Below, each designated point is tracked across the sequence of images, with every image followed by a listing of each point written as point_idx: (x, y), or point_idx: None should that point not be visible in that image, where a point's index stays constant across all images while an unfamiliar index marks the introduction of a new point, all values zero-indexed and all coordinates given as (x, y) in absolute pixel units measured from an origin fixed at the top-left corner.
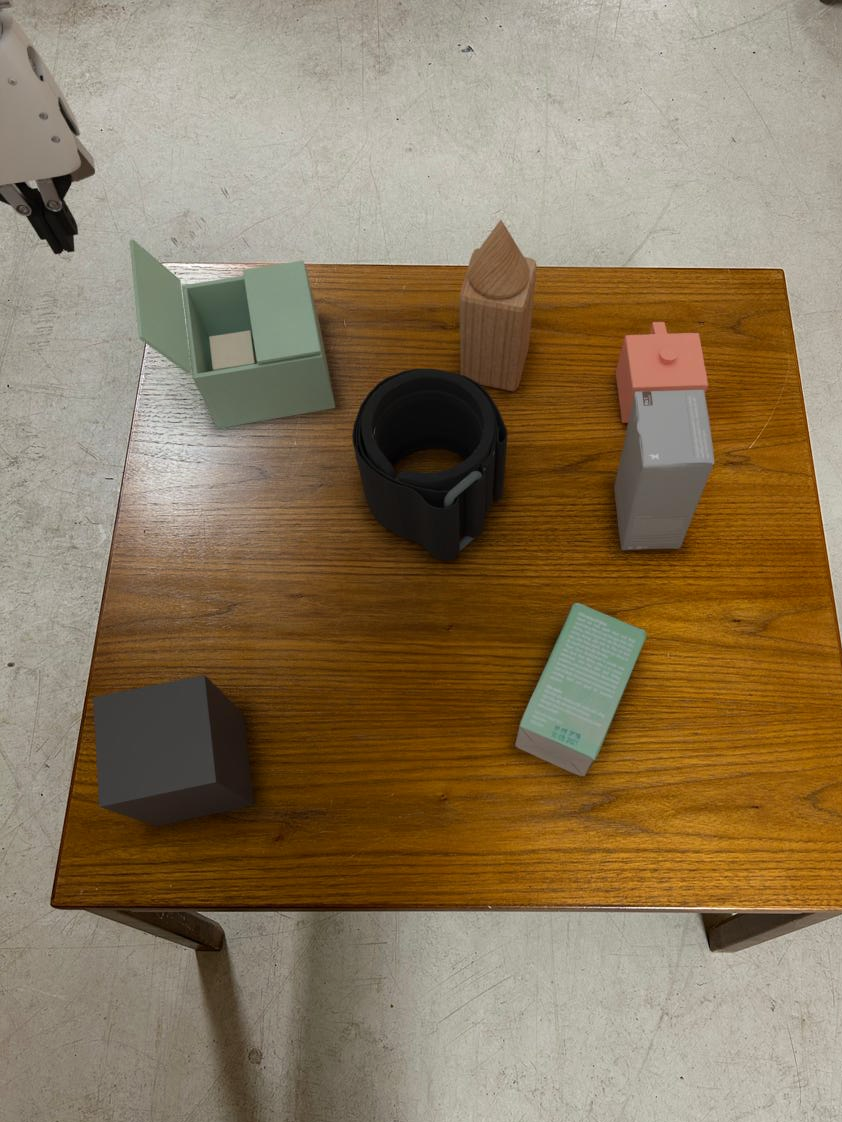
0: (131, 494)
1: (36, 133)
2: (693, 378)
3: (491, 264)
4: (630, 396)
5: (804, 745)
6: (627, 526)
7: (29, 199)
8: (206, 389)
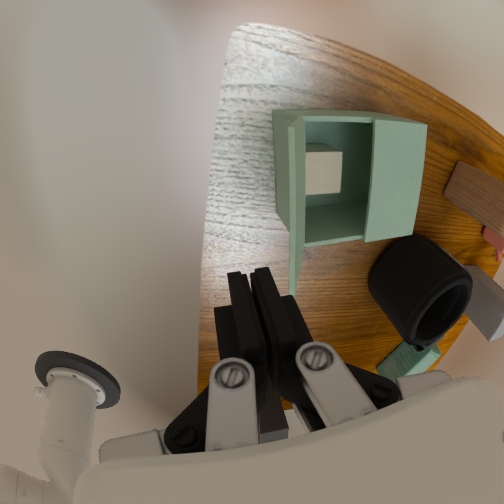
0: (201, 268)
1: None
2: None
3: None
4: (497, 249)
5: (444, 347)
6: None
7: (259, 408)
8: None
